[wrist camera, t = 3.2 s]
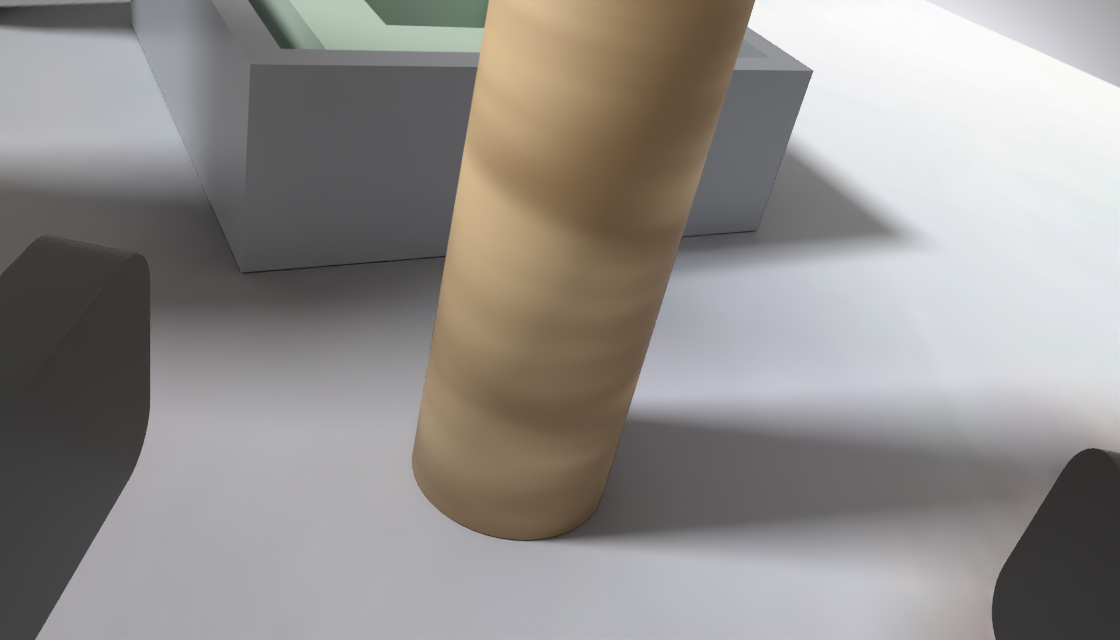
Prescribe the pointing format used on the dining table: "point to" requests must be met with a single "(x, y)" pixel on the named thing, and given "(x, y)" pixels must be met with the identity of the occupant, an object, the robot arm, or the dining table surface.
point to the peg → (564, 248)
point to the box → (389, 136)
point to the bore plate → (375, 24)
